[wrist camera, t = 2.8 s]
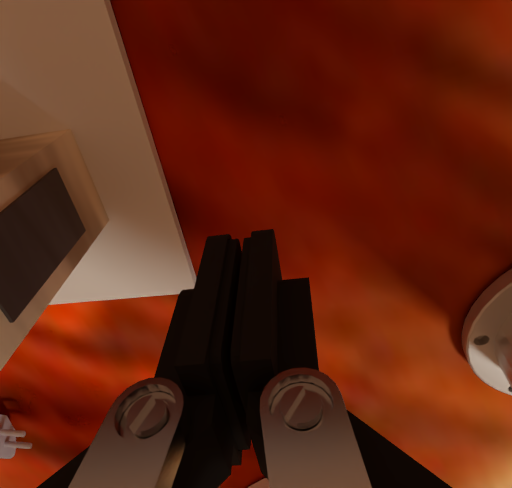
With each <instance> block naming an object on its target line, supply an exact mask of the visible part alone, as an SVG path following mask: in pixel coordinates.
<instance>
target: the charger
mask: <svg viewBox="0 0 512 488" xmlns="http://www.w3.org/2000/svg"><path fill="white" fill-rule="evenodd" d="M25 435H26V432H25V431H19V430H15V429H14V427H13V426H12V424H11V422H10V420H9V418H8V417H7V416H6V415H2V414H0V458H5V459H10V458H12V457H13V456H14V455H15V450H16V448H25V449H30V448H31V447H32V443H27V442H16V437H24V436H25Z"/></svg>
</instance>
